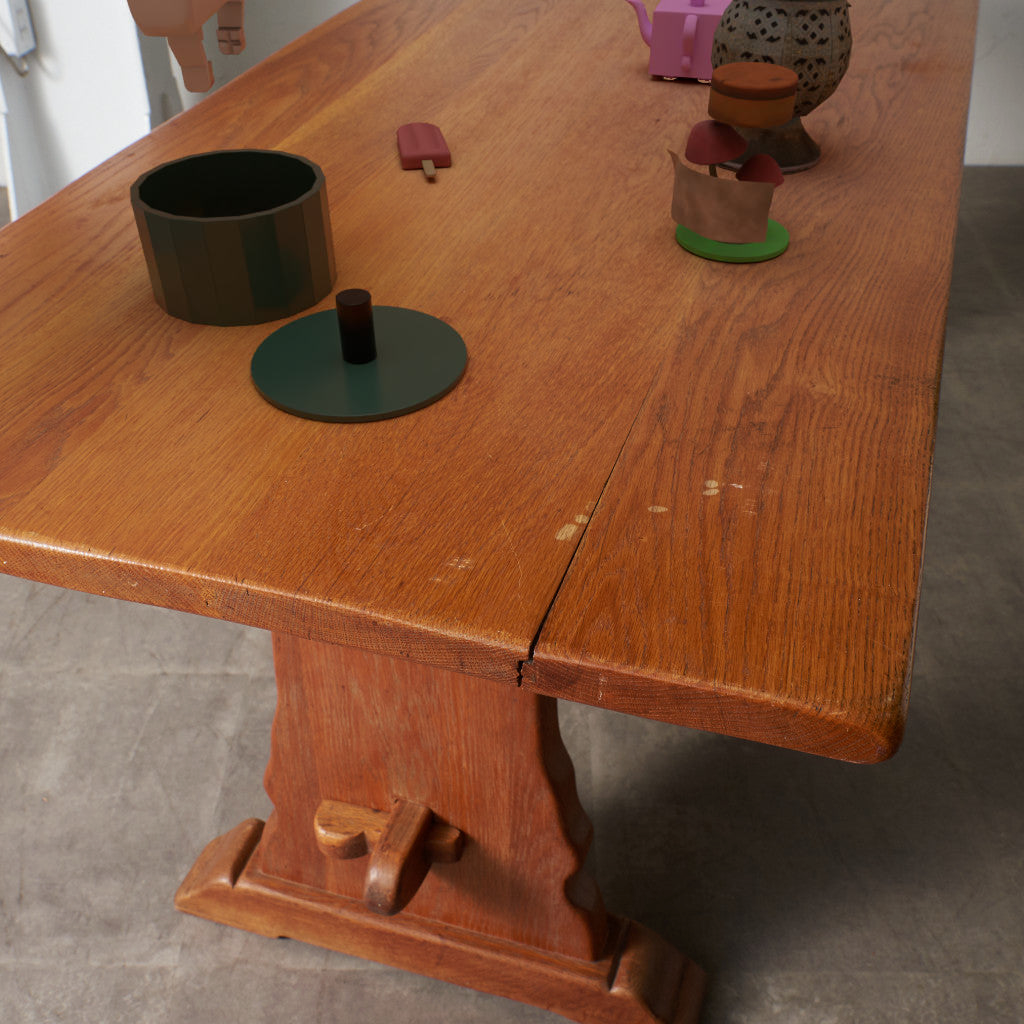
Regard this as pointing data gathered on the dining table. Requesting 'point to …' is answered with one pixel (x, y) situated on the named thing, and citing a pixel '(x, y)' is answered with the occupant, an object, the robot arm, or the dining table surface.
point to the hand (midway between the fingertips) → (218, 70)
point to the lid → (359, 362)
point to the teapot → (681, 36)
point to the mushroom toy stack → (744, 203)
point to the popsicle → (422, 147)
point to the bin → (236, 236)
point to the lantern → (787, 66)
